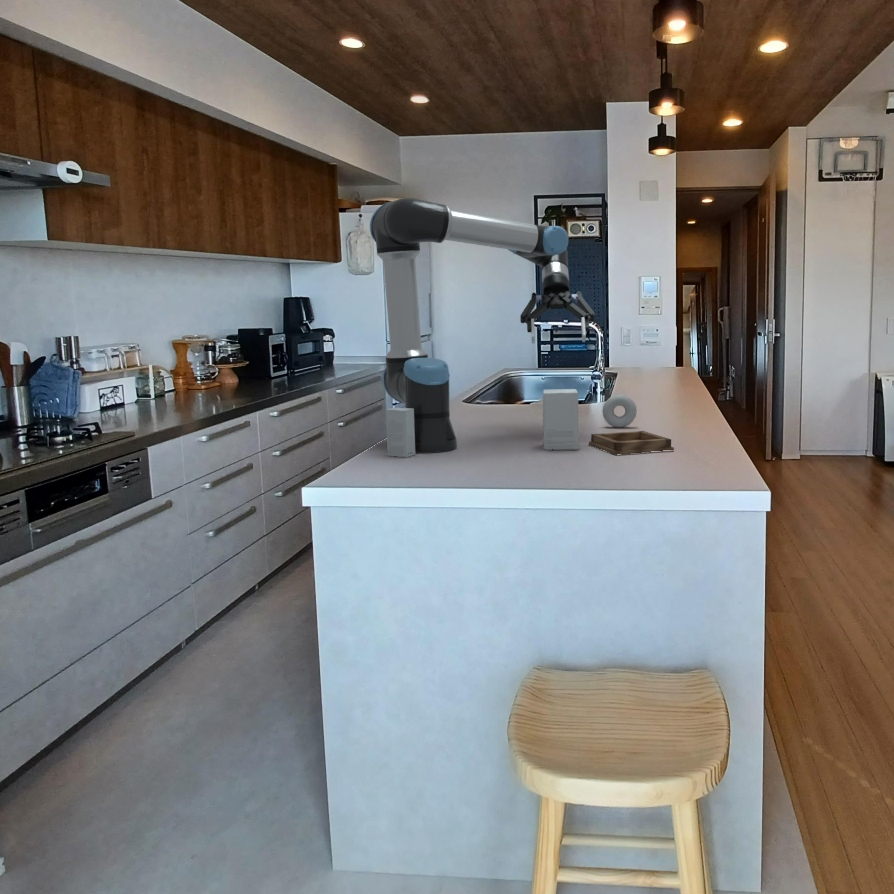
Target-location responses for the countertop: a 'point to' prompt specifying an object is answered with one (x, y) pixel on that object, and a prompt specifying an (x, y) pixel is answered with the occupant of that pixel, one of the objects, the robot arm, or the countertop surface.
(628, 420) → the donut
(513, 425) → the countertop surface
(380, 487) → the countertop surface
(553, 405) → the supplement box
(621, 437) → the holder
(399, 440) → the skincare box
